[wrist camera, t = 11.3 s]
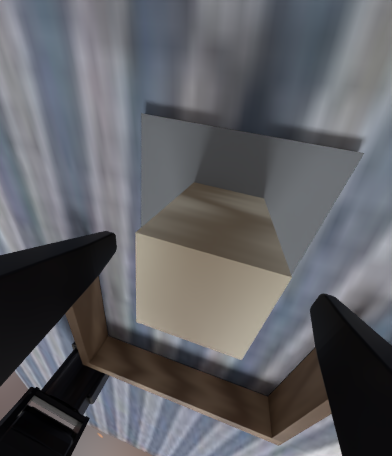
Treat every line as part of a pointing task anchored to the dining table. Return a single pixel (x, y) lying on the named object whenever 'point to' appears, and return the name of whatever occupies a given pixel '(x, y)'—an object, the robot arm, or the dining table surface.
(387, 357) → the robot arm
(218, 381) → the open wooden frame
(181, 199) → the birch block
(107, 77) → the dining table surface
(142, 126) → the mat
